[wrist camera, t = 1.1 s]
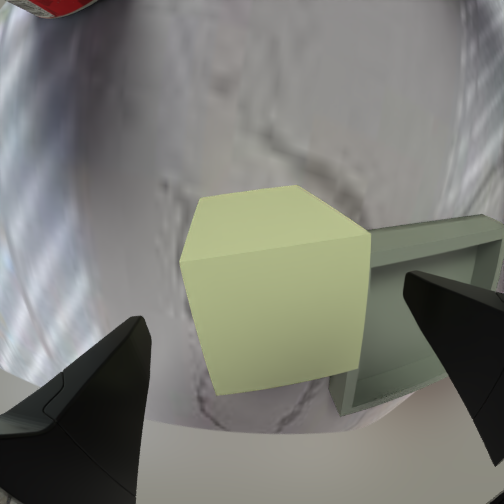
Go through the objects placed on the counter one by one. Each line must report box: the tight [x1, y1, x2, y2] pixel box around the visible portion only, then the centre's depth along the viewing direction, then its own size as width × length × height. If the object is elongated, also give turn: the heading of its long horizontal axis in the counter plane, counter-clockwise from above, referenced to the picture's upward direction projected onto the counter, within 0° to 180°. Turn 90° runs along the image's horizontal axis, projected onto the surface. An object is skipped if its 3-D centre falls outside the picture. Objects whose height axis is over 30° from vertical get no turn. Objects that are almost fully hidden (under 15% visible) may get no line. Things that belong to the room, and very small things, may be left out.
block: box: [179, 185, 371, 396], centre depth 12 cm, size 5×5×8 cm
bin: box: [329, 214, 504, 417], centre depth 17 cm, size 13×13×3 cm
